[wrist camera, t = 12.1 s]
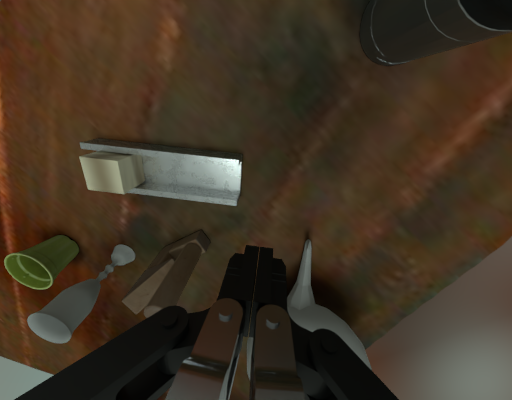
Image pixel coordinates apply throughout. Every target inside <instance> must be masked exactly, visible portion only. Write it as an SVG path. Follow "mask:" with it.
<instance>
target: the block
mask: <svg viewBox="0 0 512 400" xmlns="http://www.w3.org/2000/svg"><path fill="white" fill-rule="evenodd" d="M80 161H81V165H82V168H83V172H84V176H85V179H86V183H87V187H88V190H95V191H103V192H112V193H120V194H125V193H126V192H128V191H130V190H131V189H133V188H135V187H136V186H138V185H139V184H141V183H143V182H144V181H145V177H144V170H143V164H142V157H141V155H133V154H124V153H115V152H106V151H97V152H94V153H90V154H87V155H83V156H80Z"/></svg>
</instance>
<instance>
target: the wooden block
mask: <svg viewBox="0 0 512 400" xmlns="http://www.w3.org/2000/svg"><path fill="white" fill-rule="evenodd" d="M209 244H210V240H209V239H208V238H207V236H206V235H205V234H204V233H203V231H202V230H200V231H197V232H195V233H193V234H191V235H189V236H187V237H185V238H183V239H181V240H178V241H176V242H174V243H172V244H170V245H168V246H166V247H164V248H163V249H162V250H161V252H160V253H159V254H158V255H157V257H156V258H155V259H154V261H153V262H152V263H151V264H150V266H149V267H148V268H147V270H145V271H144V273H143V274H142V275H141V277H140V278H139V279H138V280H137V282H136V283H135V284H134V286H133V287H132V288H131V289H130V291H129V292H128V293H127V295H126V296H125V297H124V298H123V300H122V302H123V303H124V304H125V305H126V306H127V307H128V308H129V309H131V310H132V311H133V312H134V313H135V314H137V313H139V312H140V311H141V310H142V309H143V308H144V307H145V306H146V305H147V306H146V307H145V309H144V314H145V316H146V318H148V317H150V316H152V315H153V314H155V313H156V312H158V311H160V310H161V309H163V308H165V307H168V306H175V305H176V304H177V302H178V300H179V298H180V296H181V294H182V292H183V290H184V288H185V286H186V284H187V282H188V280H189V278H190V276H191V274H192V272H193V270H194V268H195V266H196V264H197V262H198V260H199V258H200V256H201V254H203V253H205V252H206V251H207V249H208V246H209Z"/></svg>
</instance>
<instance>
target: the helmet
mask: <svg viewBox="0 0 512 400" xmlns="http://www.w3.org/2000/svg"><path fill="white" fill-rule="evenodd" d="M311 248H312V247H311V241H310V240H309V239H307V240H306V243H305V247H304V252H303V257H302V261H301V265H300V269H299V273H298V278H297V281H296V283H295V285H294V287H293V288H292V290H291V292H290V294H289V295H288V297H287V309H288V313H289V315H290V317H291V318H292V320H293V321H294V322H295V323H296V324H298V325H299V326H301V327H303V328H305V329H307V330H309V331H311V332H314V331H315V330H317V329H320V328H324V329H329V330H331V331H333V332H335V333H336V334H337V335H339V336H340V337H341V338H342V339H343V341H344V342H345V343H346V344H347V345H348V346H349V347H350V348H351V349H352V350H353V351H354V352H355V353H356V354H357V355H358V357H359V358H360V359H361V360H362V361H363V362H364V363H365V364H366V365H367V366H368V367H369V368H370V369H371V366H370V363H369V361H368V358H367V355H366V352H365V349H364V347H363V344H362V343H361V341H360V340H359V339H358V337H357V336H356V335H355V333H354V332H353V331H352V330H351V328H350V327H349V326H348V324H347V323H346V322H345V321H344V320H342V319H341V318H340V317H338V316H337V315H336V314H334V313H333V312H332V311H330V310H329V309H328V308H325V307H322V306H320V305H317V304H315V301H314V296H313V292H312V288H311ZM252 345H253V337H249V338H248V341H247V373H248V376H249V379H250V370H251V354H252ZM371 370H372V369H371Z"/></svg>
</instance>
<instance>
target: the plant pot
mask: <svg viewBox="0 0 512 400" xmlns="http://www.w3.org/2000/svg"><path fill="white" fill-rule="evenodd" d="M78 252H79V247H78V245H77V244H76V243H75V242H74V241H72V240H70V239H69V238H68V237H67V236H64V235H57V236H55V237H53V238H51V239H48V240H46V241H44V242H42V243H40V244H38V245H36V246H33V247H31V248H29V249H27V250H24V251H20V252H18V253H12V254H10V255H8V256H7V257H6V258H5V261H4V262H5V267H6V269H7V270H8V272H9V273H10V275H12V277H13V278H15V279H16V280H17V281H19V282H20V283H22V284H24V285H26V286H28V287H31V288H34V289H47V288H49V287H50V286H51V285H52V284H53V282H54V280H55V278H56V277H57V275H58V274H59V273H60V272H61V271H62V270H63V269H64V268H65V267H66V266H67V265H68V263H69V262H70V261H71V260H72V259H73V258H74V257H75V256H76V255H77V254H78Z"/></svg>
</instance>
